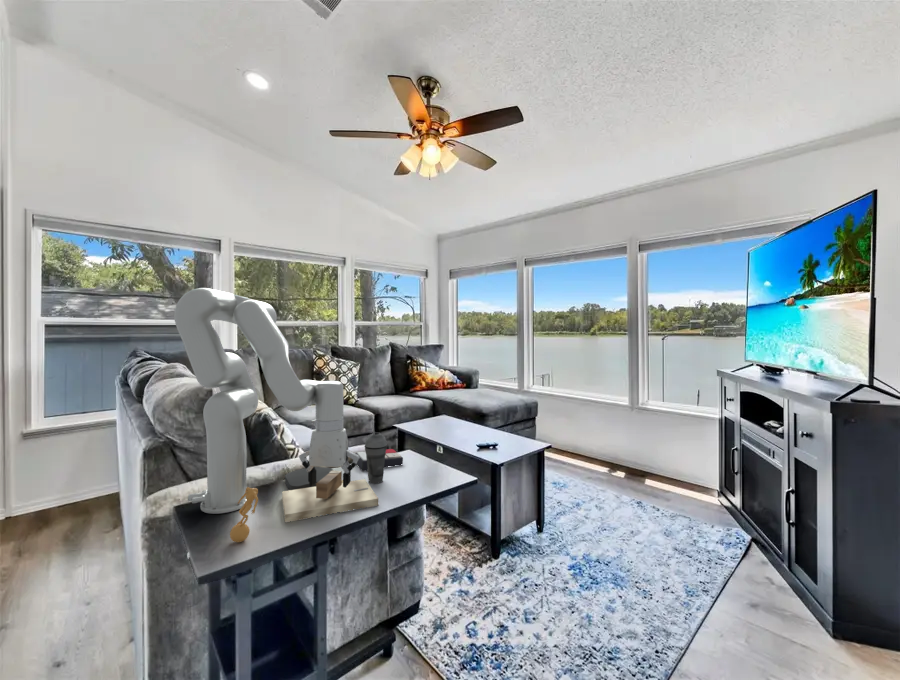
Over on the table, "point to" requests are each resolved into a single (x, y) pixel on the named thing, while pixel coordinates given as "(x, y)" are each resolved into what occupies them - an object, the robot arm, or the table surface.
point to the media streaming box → (304, 477)
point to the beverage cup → (375, 456)
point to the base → (327, 501)
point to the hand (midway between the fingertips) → (329, 485)
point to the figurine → (244, 516)
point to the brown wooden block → (328, 484)
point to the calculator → (390, 459)
